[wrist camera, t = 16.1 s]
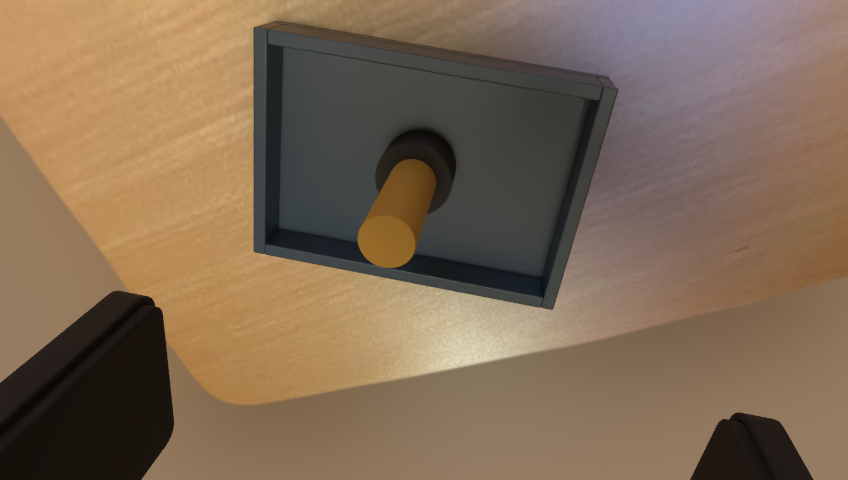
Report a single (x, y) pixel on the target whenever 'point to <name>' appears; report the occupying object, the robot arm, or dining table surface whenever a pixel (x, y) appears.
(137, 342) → the robot arm
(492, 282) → the basin tray
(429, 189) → the plug
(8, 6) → the dining table surface
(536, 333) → the dining table surface
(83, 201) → the dining table surface
